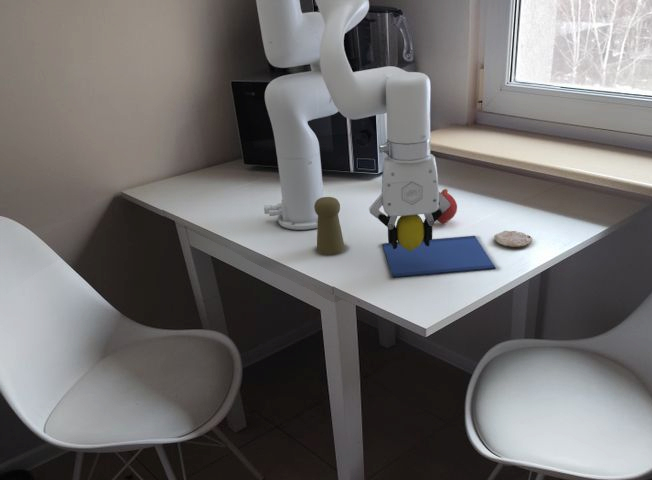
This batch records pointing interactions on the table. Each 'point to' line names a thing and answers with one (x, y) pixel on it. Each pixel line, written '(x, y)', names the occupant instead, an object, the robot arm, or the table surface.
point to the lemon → (410, 231)
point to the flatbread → (513, 238)
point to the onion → (451, 210)
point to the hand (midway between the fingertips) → (410, 243)
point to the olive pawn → (328, 227)
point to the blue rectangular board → (438, 257)
